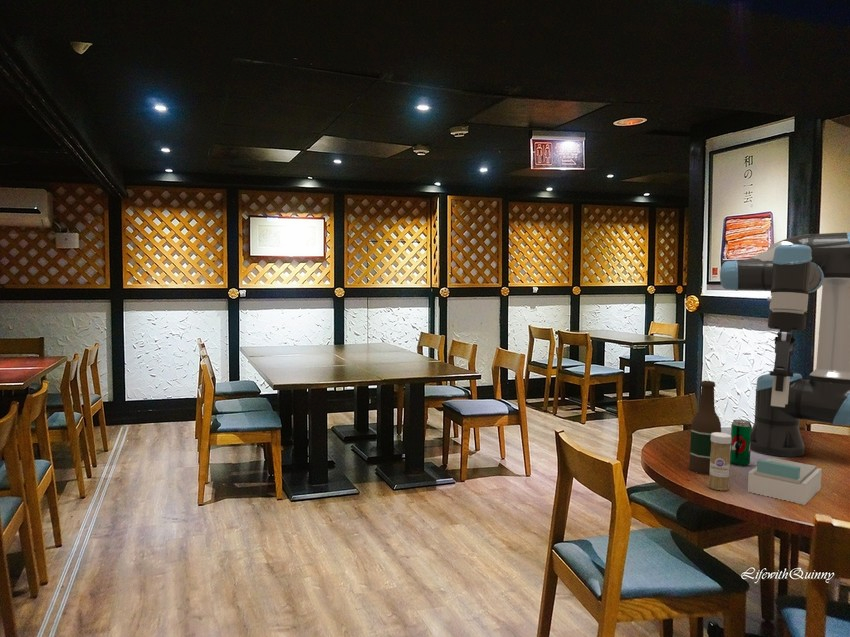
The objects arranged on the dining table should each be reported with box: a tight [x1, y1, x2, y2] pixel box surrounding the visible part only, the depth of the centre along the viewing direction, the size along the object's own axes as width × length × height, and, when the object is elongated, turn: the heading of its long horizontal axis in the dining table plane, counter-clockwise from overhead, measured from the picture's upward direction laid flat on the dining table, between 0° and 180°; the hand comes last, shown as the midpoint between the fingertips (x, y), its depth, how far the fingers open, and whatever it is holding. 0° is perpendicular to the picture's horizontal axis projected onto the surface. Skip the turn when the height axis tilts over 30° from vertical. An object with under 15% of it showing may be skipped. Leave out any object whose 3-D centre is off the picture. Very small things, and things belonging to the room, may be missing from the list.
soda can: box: [730, 418, 753, 467], centre depth 175 cm, size 5×5×12 cm
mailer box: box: [747, 458, 823, 506], centre depth 153 cm, size 16×12×5 cm
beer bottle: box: [689, 380, 722, 476], centre depth 168 cm, size 8×8×24 cm
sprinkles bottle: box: [708, 432, 732, 492], centre depth 154 cm, size 5×5×14 cm
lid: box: [754, 457, 817, 484], centre depth 153 cm, size 16×10×3 cm, turn 137°
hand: (779, 405), depth 145 cm, fingers open, 13 cm apart
